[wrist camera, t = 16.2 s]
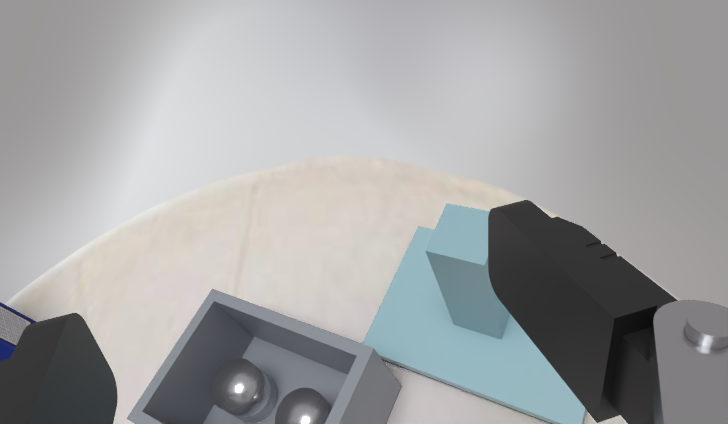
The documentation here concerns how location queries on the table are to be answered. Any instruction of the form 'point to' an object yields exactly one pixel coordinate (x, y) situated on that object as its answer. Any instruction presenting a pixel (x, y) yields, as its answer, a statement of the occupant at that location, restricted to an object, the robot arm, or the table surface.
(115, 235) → the table surface
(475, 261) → the lid
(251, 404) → the part
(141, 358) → the table surface
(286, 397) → the part
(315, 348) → the tub
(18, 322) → the milk carton
